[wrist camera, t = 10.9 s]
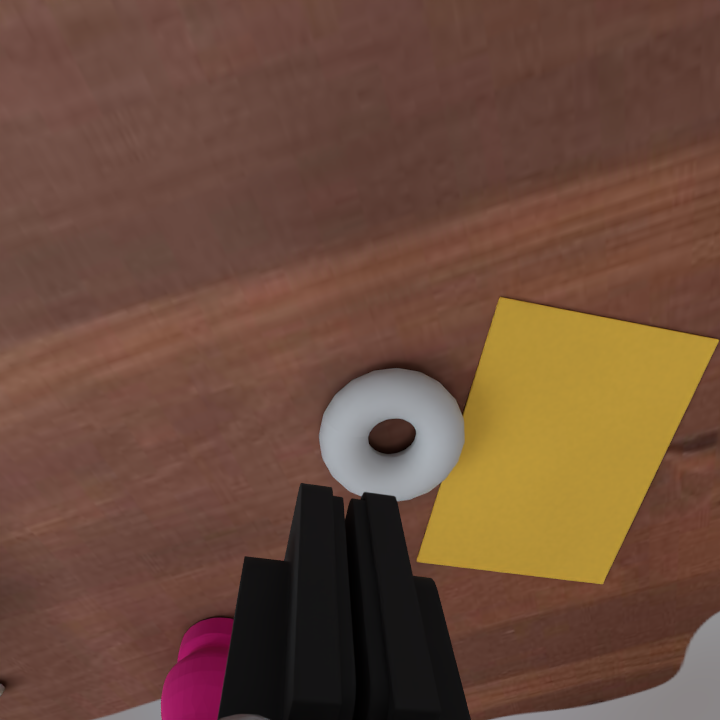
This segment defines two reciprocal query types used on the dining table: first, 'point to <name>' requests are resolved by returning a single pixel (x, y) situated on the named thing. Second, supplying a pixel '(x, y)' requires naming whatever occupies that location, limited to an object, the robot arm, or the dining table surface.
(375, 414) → the donut
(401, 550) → the robot arm
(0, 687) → the tableware set
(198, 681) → the pepper mill
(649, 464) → the cloth
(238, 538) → the dining table surface
